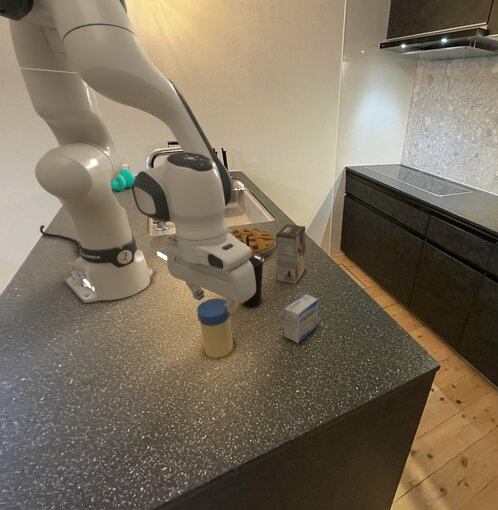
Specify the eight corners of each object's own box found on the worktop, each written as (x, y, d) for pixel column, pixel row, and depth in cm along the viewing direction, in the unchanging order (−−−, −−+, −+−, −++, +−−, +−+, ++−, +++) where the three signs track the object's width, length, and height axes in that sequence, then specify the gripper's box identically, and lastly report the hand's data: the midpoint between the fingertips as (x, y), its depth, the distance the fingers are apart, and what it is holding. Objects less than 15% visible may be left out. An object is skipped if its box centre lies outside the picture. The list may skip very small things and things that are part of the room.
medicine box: (298, 344, 72) (298, 315, 68) (283, 336, 74) (283, 307, 70) (317, 326, 78) (319, 299, 74) (303, 319, 80) (304, 292, 76)
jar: (199, 354, 67) (192, 315, 62) (214, 336, 72) (208, 298, 67) (224, 360, 66) (219, 320, 61) (238, 341, 71) (234, 303, 66)
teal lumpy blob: (107, 190, 160) (101, 171, 155) (122, 185, 168) (117, 167, 164) (124, 192, 159) (119, 173, 154) (138, 188, 167) (134, 169, 163)
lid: (192, 322, 63) (190, 313, 62) (209, 304, 68) (208, 296, 67) (220, 328, 62) (219, 319, 61) (235, 309, 67) (235, 301, 66)
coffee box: (286, 267, 104) (286, 223, 96) (304, 270, 103) (306, 226, 95) (276, 280, 96) (275, 234, 88) (296, 284, 95) (296, 237, 87)
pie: (264, 234, 126) (263, 222, 124) (285, 256, 110) (285, 244, 108) (208, 243, 115) (206, 230, 113) (222, 269, 99) (221, 256, 97)
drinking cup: (240, 313, 80) (234, 245, 71) (235, 298, 86) (228, 233, 77) (269, 307, 84) (266, 241, 74) (261, 292, 89) (258, 229, 80)
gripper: (151, 237, 58) (166, 297, 65) (234, 265, 51) (241, 329, 57) (179, 227, 63) (190, 283, 70) (258, 251, 56) (262, 311, 63)
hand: (214, 304), depth 64 cm, fingers open, 7 cm apart
